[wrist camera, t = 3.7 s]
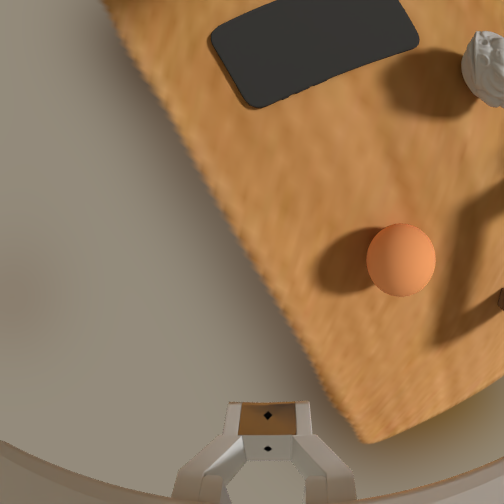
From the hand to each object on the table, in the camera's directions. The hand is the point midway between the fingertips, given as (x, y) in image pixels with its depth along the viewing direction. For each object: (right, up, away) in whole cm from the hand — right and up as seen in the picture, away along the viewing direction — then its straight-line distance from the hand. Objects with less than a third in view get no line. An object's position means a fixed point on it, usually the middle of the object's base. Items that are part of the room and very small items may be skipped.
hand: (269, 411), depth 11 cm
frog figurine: (+17, +21, +7) cm, 28 cm away
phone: (+4, +22, +8) cm, 24 cm away
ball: (+10, +5, +11) cm, 16 cm away
